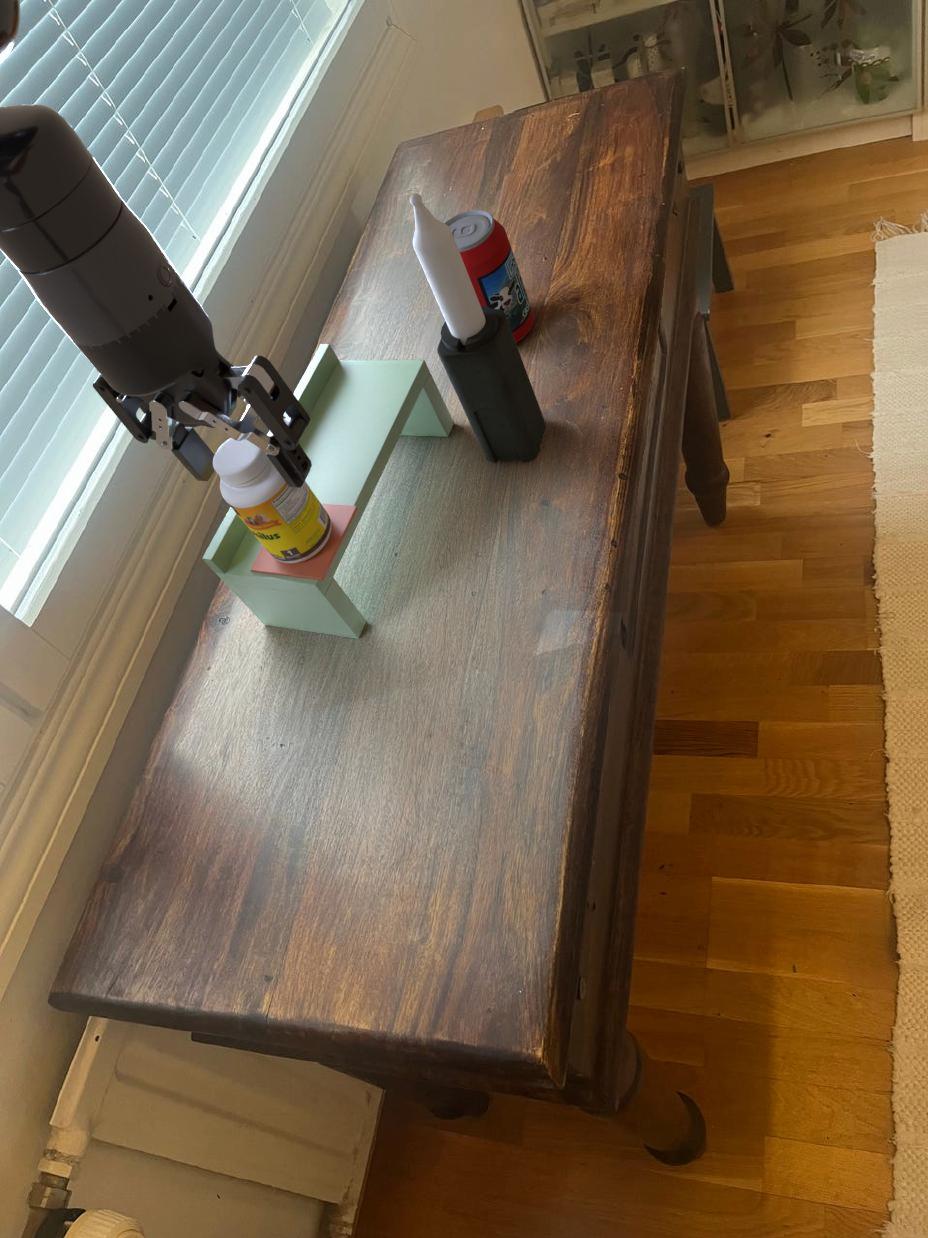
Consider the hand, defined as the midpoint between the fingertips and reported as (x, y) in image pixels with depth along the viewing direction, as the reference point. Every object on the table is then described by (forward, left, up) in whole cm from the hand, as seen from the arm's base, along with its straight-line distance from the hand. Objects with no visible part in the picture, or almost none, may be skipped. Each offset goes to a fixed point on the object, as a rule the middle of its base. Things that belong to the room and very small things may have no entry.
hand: (254, 475), depth 68 cm
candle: (+18, -10, -16) cm, 26 cm away
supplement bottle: (0, 0, -8) cm, 8 cm away
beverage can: (+32, -4, -16) cm, 36 cm away
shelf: (+8, +2, -16) cm, 18 cm away
